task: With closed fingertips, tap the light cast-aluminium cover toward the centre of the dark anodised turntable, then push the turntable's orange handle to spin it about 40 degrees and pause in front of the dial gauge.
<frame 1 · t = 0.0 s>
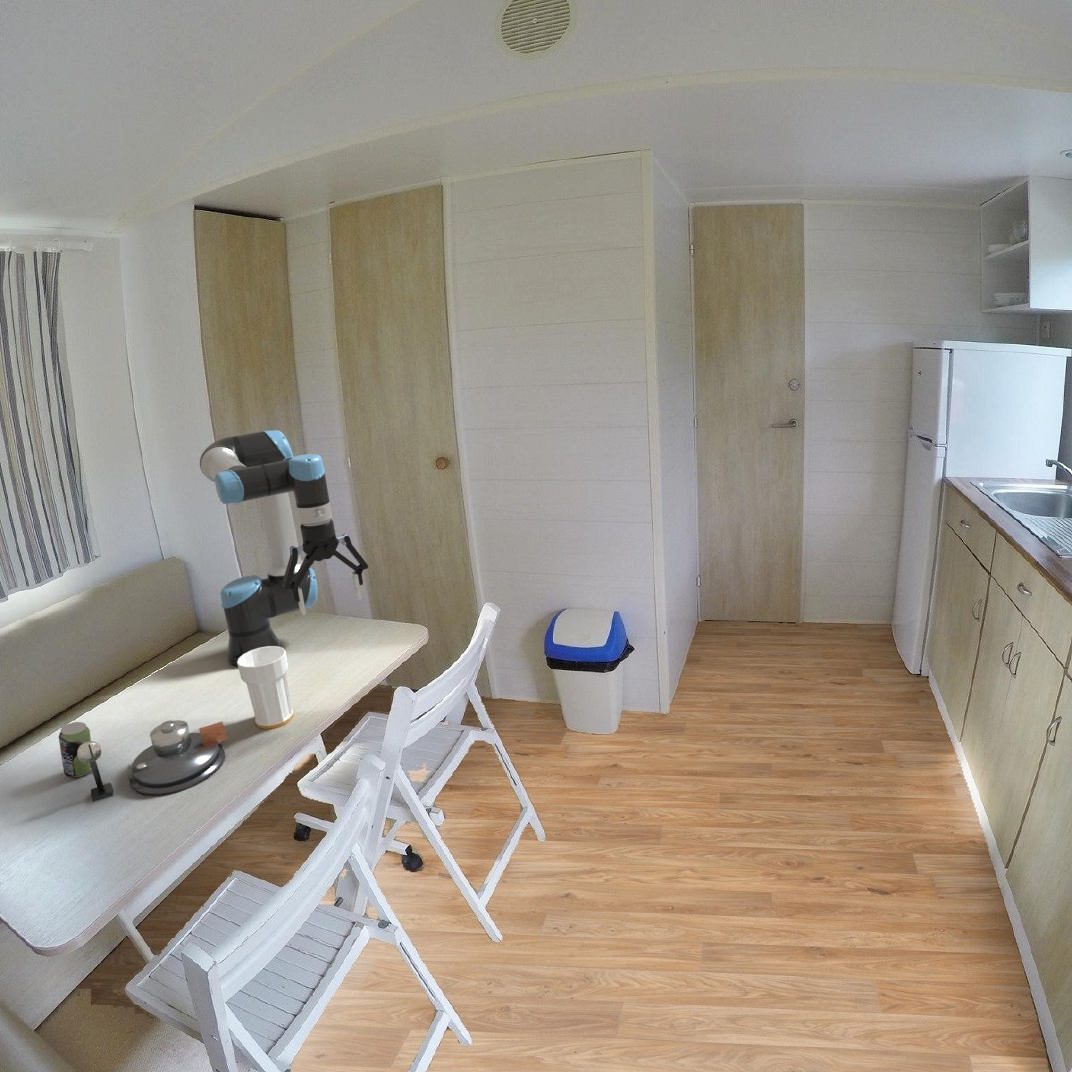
hand: (331, 605, 185), 28 cm above the table, fingers open, 13 cm apart
beverage can: (83, 773, 176), on the table
turntable base: (178, 768, 174), on the table
turntable: (179, 749, 173), point 4 cm above the table, hinge at 0.0°, touching cover
cup: (275, 719, 192), on the table
dial stand: (102, 794, 167), on the table
cover: (172, 744, 177), point 3 cm above the table, touching turntable
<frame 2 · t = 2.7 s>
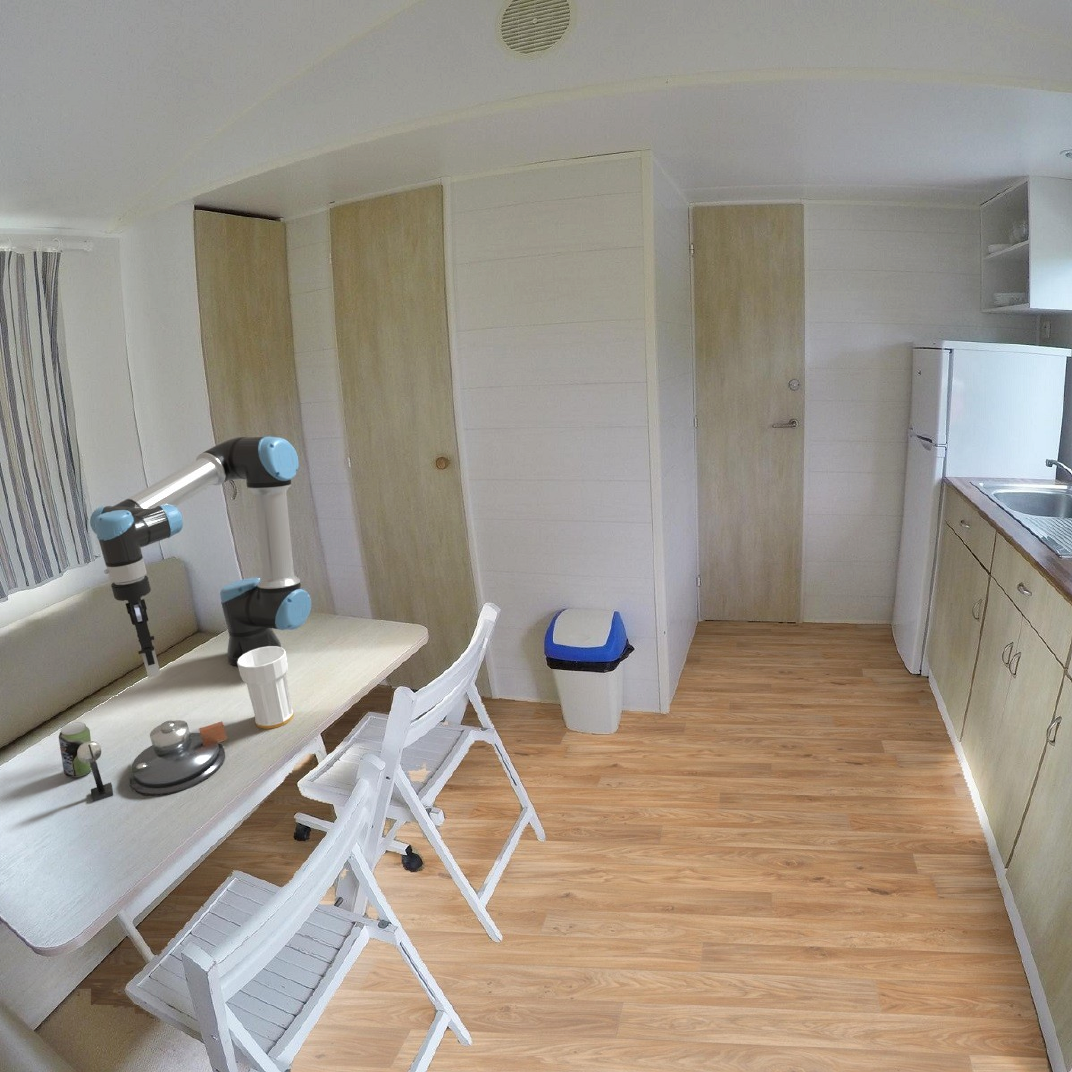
hand: (153, 671, 180), 19 cm above the table, fingers open, 4 cm apart
nothing on the table moved.
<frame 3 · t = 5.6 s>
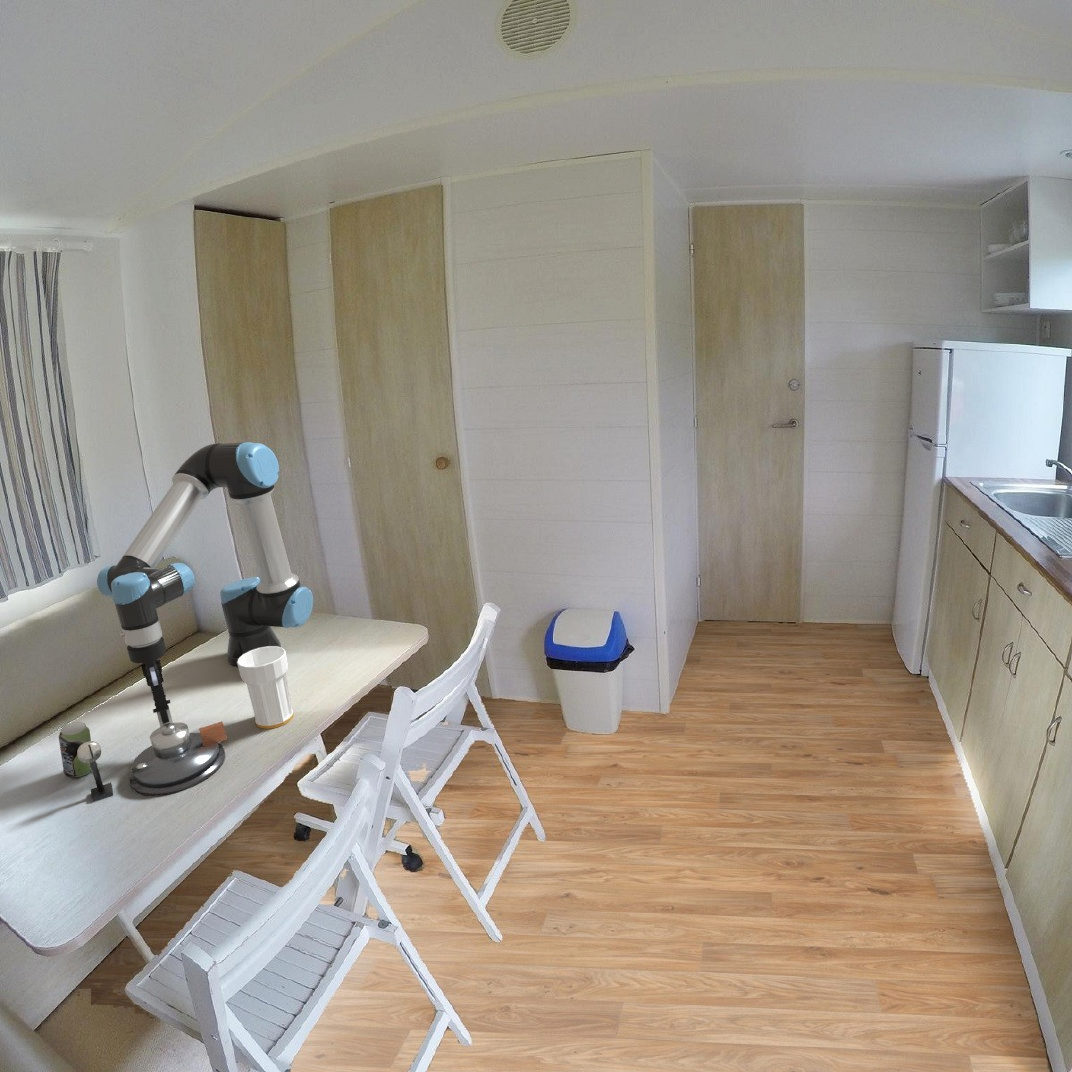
hand: (168, 732, 180), 5 cm above the table, fingers closed
turntable: (179, 749, 173), point 4 cm above the table, hinge at 0.0°
cover: (172, 747, 176), point 4 cm above the table, touching gripper
everything else where it was.
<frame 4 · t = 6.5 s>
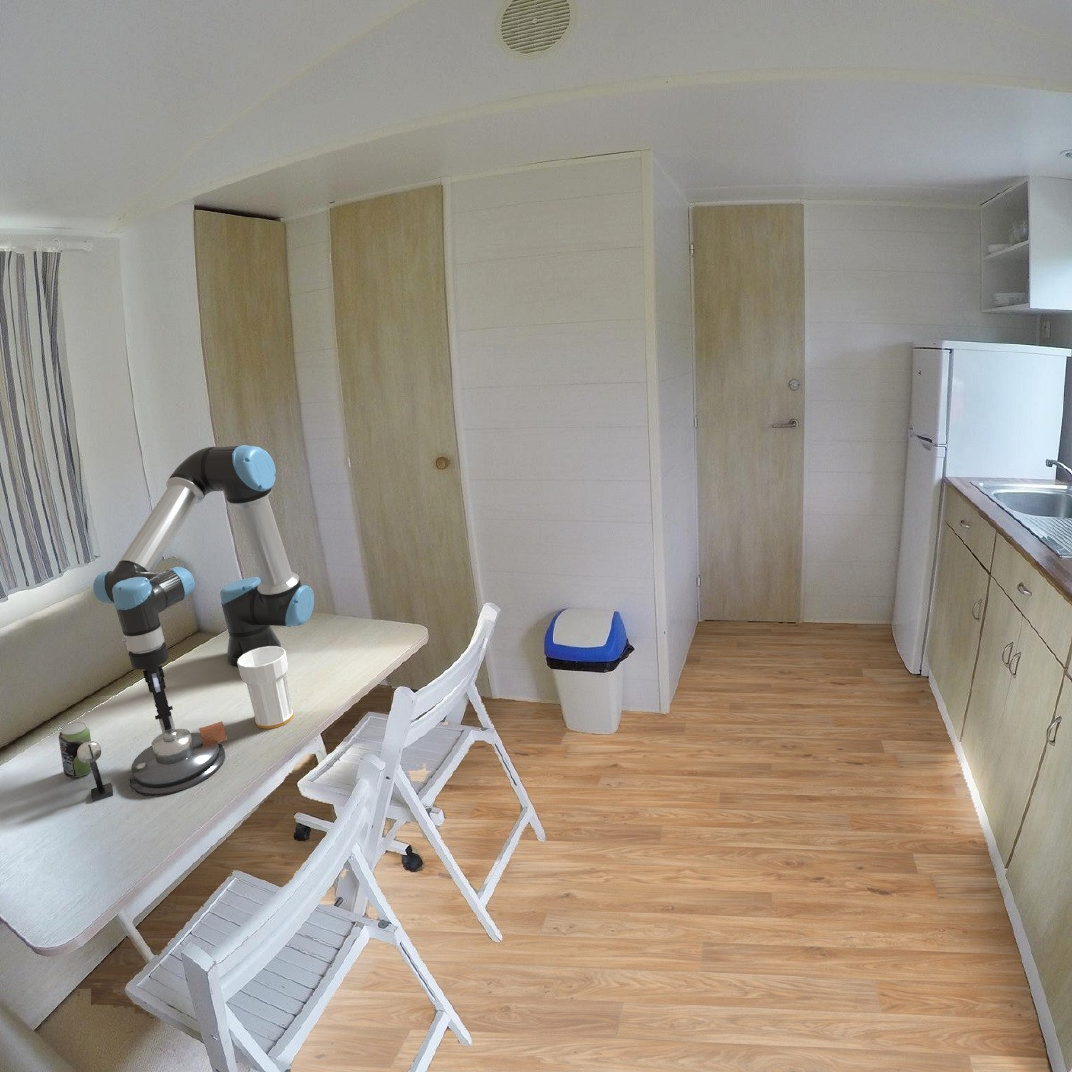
hand: (170, 739, 177), 5 cm above the table, fingers closed
turntable: (179, 749, 173), point 4 cm above the table, hinge at 0.0°, touching cover
cover: (175, 753, 174), point 3 cm above the table, touching gripper, turntable
everything else where it was.
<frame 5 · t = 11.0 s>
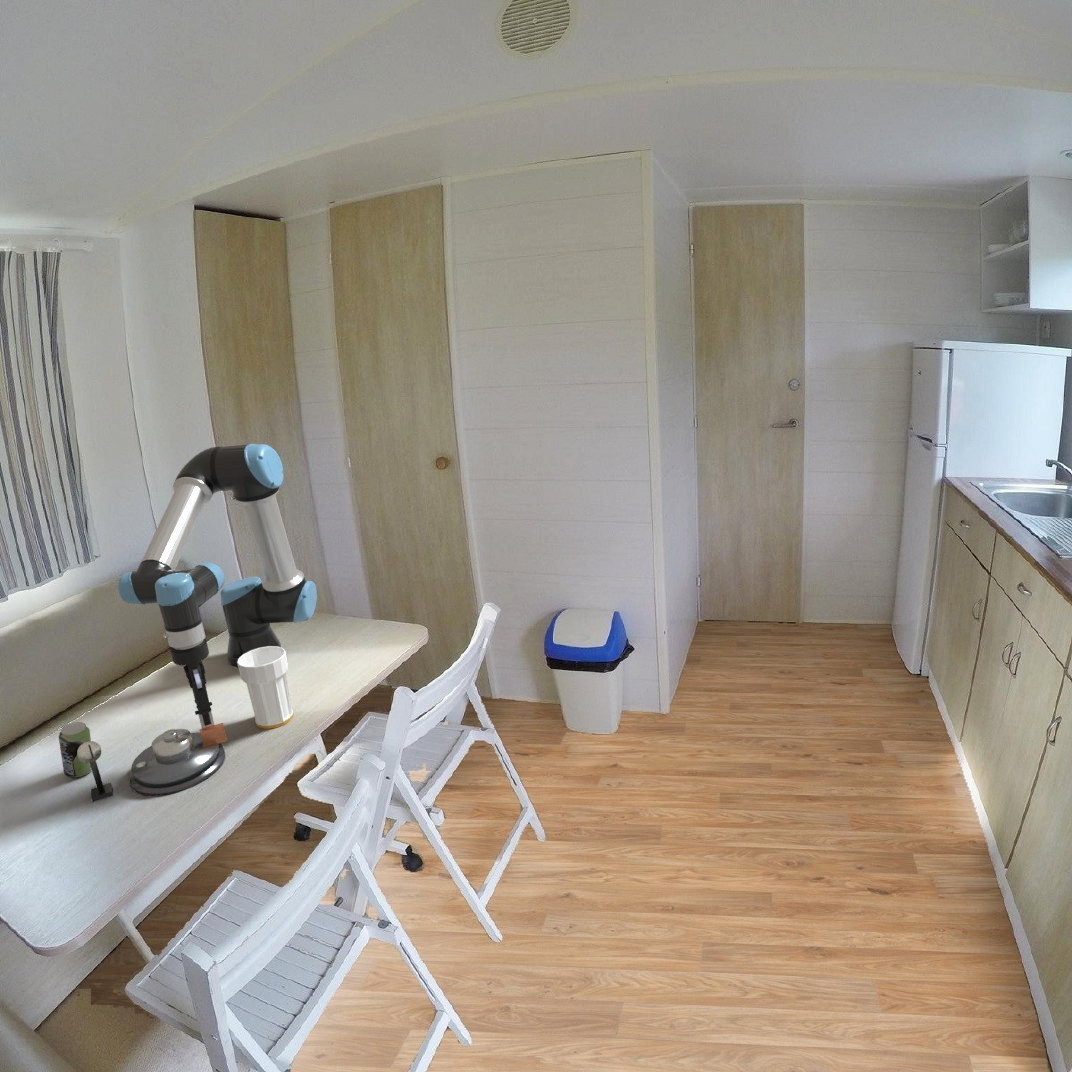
hand: (210, 734, 177), 5 cm above the table, fingers closed
turntable: (179, 749, 173), point 4 cm above the table, hinge at -4.3°, touching cover, gripper
cover: (175, 754, 174), point 3 cm above the table, touching turntable
everything else where it was.
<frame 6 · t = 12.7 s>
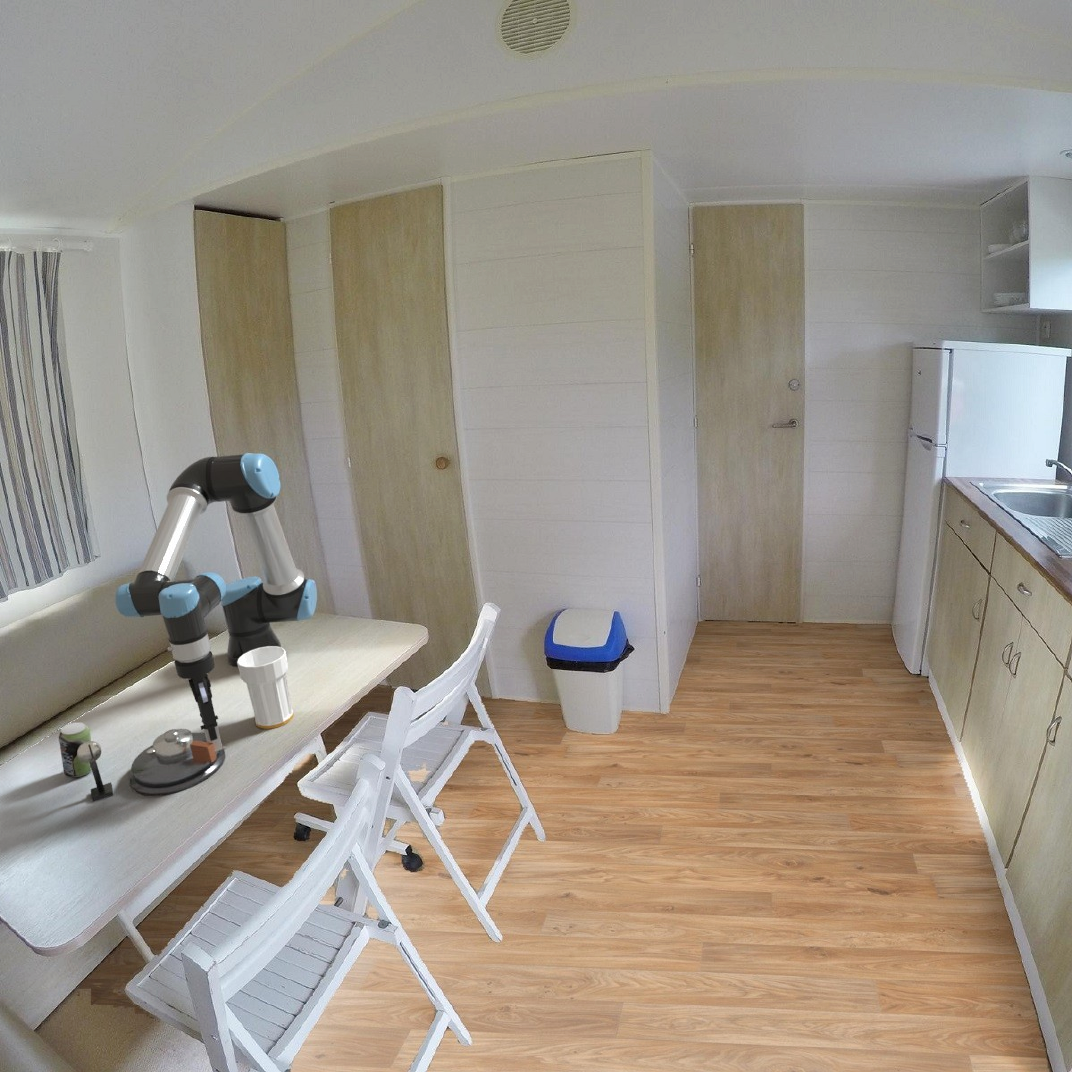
hand: (216, 749, 172), 5 cm above the table, fingers closed
turntable: (177, 751, 173), point 4 cm above the table, hinge at -50.2°, touching cover, gripper
everything else where it was.
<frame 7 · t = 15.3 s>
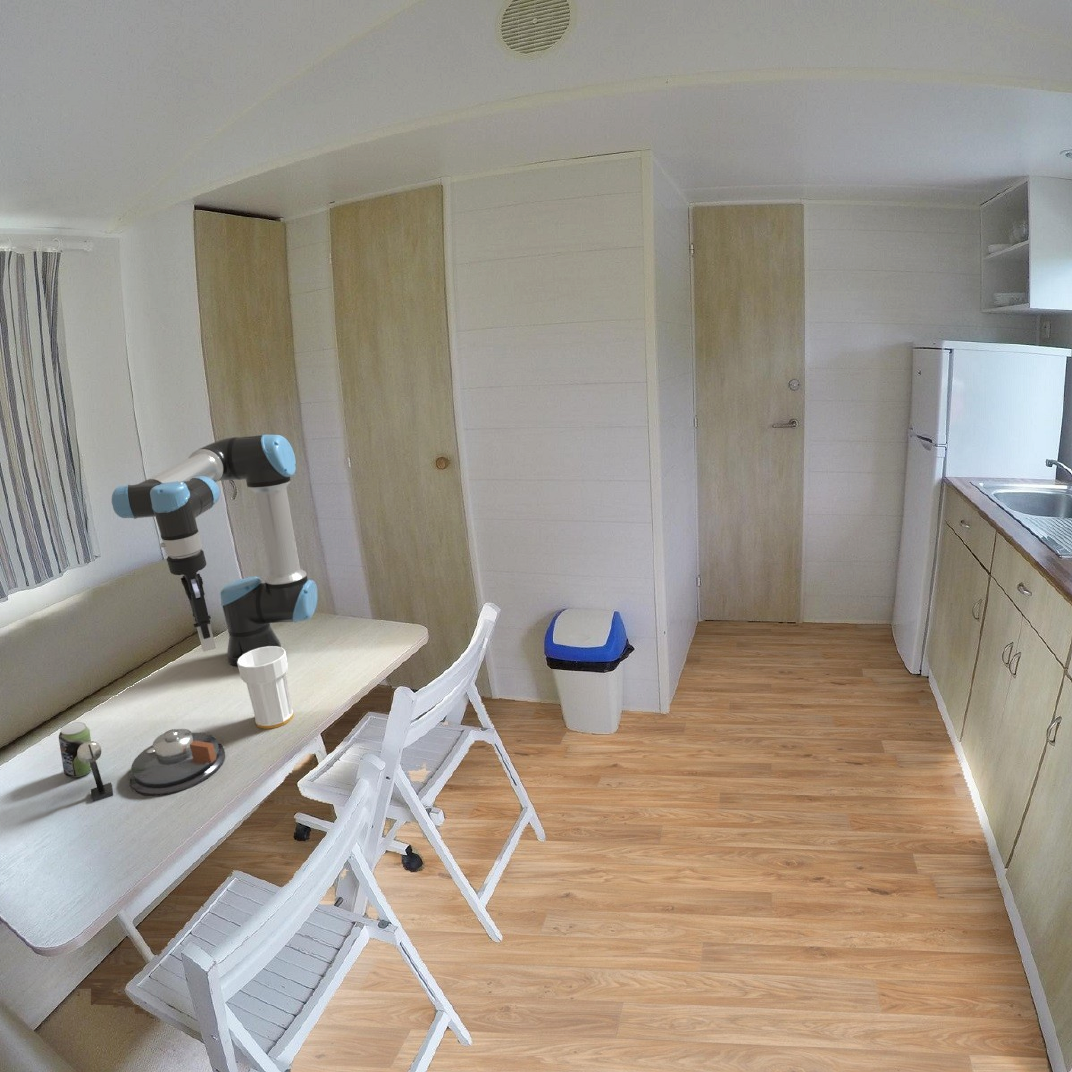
hand: (209, 648, 176), 24 cm above the table, fingers closed
turntable: (177, 751, 173), point 4 cm above the table, hinge at -50.7°, touching cover
everything else where it was.
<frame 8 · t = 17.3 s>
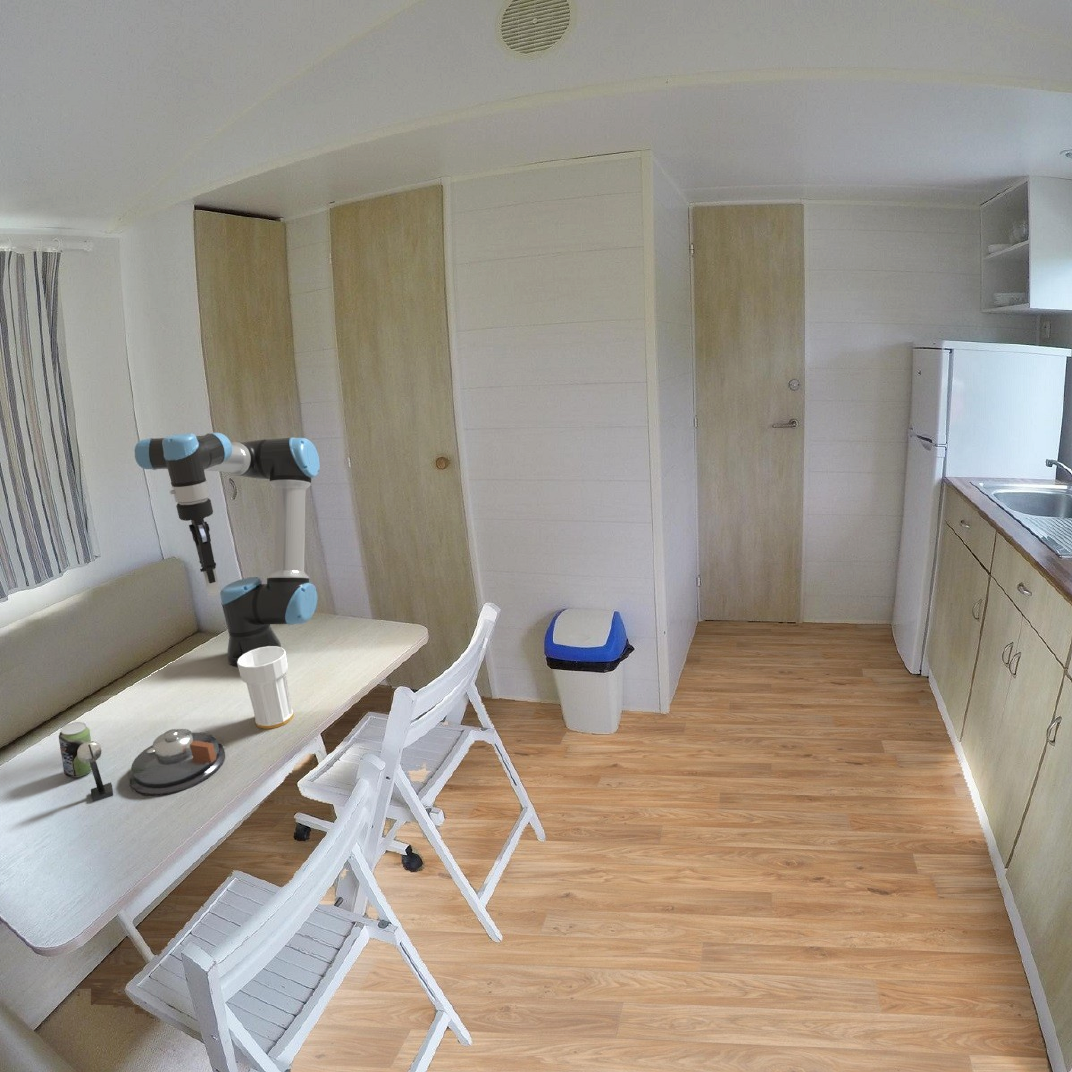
hand: (214, 593, 187), 32 cm above the table, fingers closed
nothing on the table moved.
at the end: cover 0.3 cm from the turntable (horizontally); cover point 3.5 cm above the table; turntable at -51° (first picture: +0°) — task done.
